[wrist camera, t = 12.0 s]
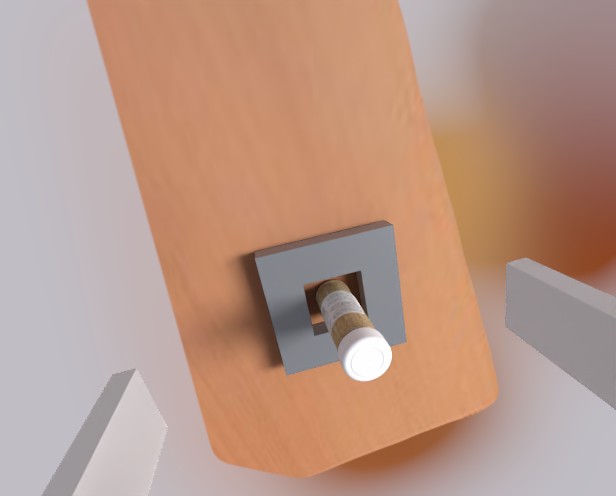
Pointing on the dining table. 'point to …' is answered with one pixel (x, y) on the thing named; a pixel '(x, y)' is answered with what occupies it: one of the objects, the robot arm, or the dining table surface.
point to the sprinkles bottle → (352, 332)
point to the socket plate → (323, 265)
